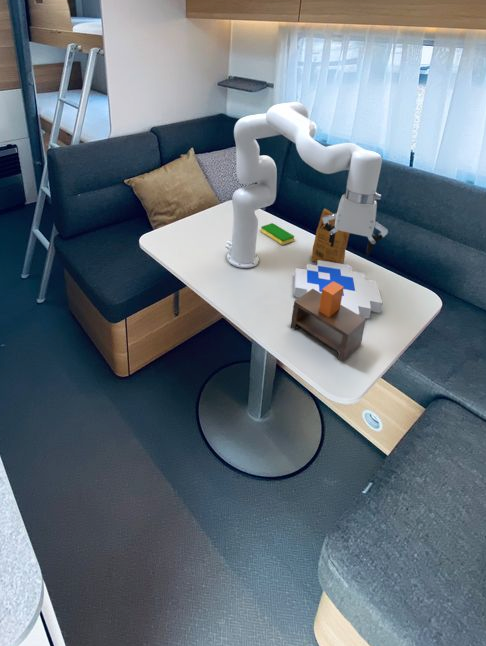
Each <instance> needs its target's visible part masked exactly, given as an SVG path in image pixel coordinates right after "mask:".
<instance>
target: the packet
mask: <svg viewBox="0 0 486 646" xmlns="http://www.w3.org/2000/svg"><path fill="white" fill-rule="evenodd" d="M343 289H344V287H343V286H341V285H340V284H338V283H336V282H334V281H333V282H331V283H330V284H329V285H327V286H326V287H324V288H323V289H322V294H321V300H320V306H319V312H321V313H323V314H324V315H326V316H328V317H330V316H331V315H332V314H334V313H335V312H336V311H338V310H339V309H340V305H341V300H342V294H343Z"/></svg>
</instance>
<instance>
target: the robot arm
mask: <svg viewBox="0 0 486 646" xmlns="http://www.w3.org/2000/svg"><path fill="white" fill-rule="evenodd" d="M309 115H310V114H309V110H308V109H307V107H306V106H305V104H303V103H301V102H299V101H291V102H290V101H289V102H283V103H277V104H274V105H272V106H271V107H269V108H268V110H267V111H266V113H265V112H264V113H257V114H250V115H246V116H243V117H241V118H240V119H238V120H237V121H236V122H235V124H234V128H233V138H234V141H235V173H236V174H235V175H236V179H237V181H238V183H240V184H242V185H245V186H242V187H240V188H237V189H236V190H235V191H234V192H233V193H232V197H231V202H232V210H233V219H232V233H231V240H227V242H226V244H225V245H224V247H225V249H228V252H227V254H226V260H227V262H228V263H229V264H230V265H232V266H233V267H236V268H239V269H251V268H254V267H256V266H257V265H258V264H259V260H260V259H259V256H258V254H256V249H257V241H258V240H257V238H258V229H259V228H258V227H259V219H258V216H257V215H256V213H255V212H256V211H257V210H260V209H263V208H267V207H270V206H271V205H273V204H274V203H275V201H276V198H277V182H278V181H277V179H278V177H277V175H278V173H277V171H278V170H277V165H276V162H275V160H274V159H273V158H272V157H270V156H269V155H264V154H263V155H260V151H261V150H260V145H259V143H258V141H257V140H258V139H264V138H271V137H276V136H281V135H282V136H283V137H285V138H286V139H288V140H289V141H291V142H292V143H293V144H295V148H296V151H297V153H298V156H299V157H300V158H301V160H302V161H303V162H305V164H307V165H308V166H310V167H311V168H313V170H316V171H318V172H319V173H321V174H326V175H330V174H335V173H338V172H342V171H348V174H347V181H346V186H345V193H344V194H342V195H341V198H340V200H339V203H338V206H337V211H336V212H335V213H333V214H330V215H325V216H323V218H322V220H323V222H324V225H325V227H326V229H327V230H328V231H329V233H330V238H329V242H330V243H331V247H333V245H334V241H335V235H336V232H337V231H339V230H340V231H344V232H348V233H349V234H353V235H358V236H362V237H366V238H367V239H368V241H367V246H366V250H365V251H366V252H365V255H366V256H367V257H368V256H370V253H373V249H374V245H375V244H376V243H377V242H379V241H382V240H383V238H384V237H386V236H387V235H388V233H389V230H388V228H386V227H385V226H384V225H382V224H381V223H380V222H378V221H376V219H377V210H378V209H377V208H378V202H377V200H379V201H380V200H381V198H382V194H379V193H378V192H377V188H378V183H379V178H380V174H381V168H382V163H383V158H382V156H381V154H379V153H377V152H375V151H372V150H367V149H364V148H363V147H361V146H359V145H358V144H356V143H353V142H342V143H336V144H332V145H328V146H326V145H323V144H321V143H320V142H318V141H317V140H315V139H314V137H315V136H316V133H317V125H316V123H315V122H314V121H313V120H311V119H309ZM333 219H336V220H335V225H333V226H332V225H331V224H330V223H329V220H333ZM375 229H376V230H378V232H379V233H377V234H374V231H375Z"/></svg>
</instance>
